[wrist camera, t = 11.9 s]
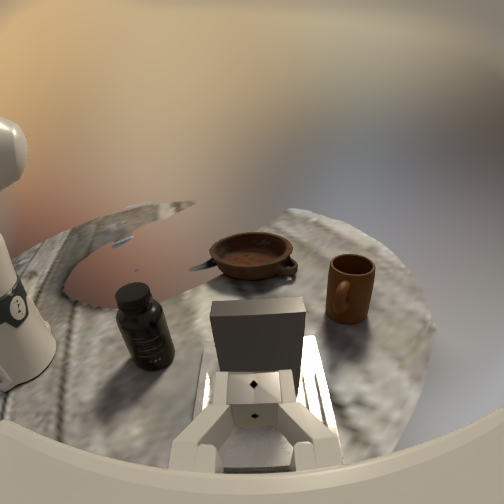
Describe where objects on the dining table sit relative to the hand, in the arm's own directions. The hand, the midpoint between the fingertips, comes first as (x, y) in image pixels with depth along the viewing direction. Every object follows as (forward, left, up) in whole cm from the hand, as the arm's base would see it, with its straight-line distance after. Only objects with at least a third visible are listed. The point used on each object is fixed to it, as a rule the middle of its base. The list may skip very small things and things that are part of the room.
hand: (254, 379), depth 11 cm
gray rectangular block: (0, +17, -19) cm, 26 cm away
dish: (-1, +49, -22) cm, 54 cm away
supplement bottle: (-16, +21, -21) cm, 34 cm away
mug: (+14, +28, -21) cm, 38 cm away
